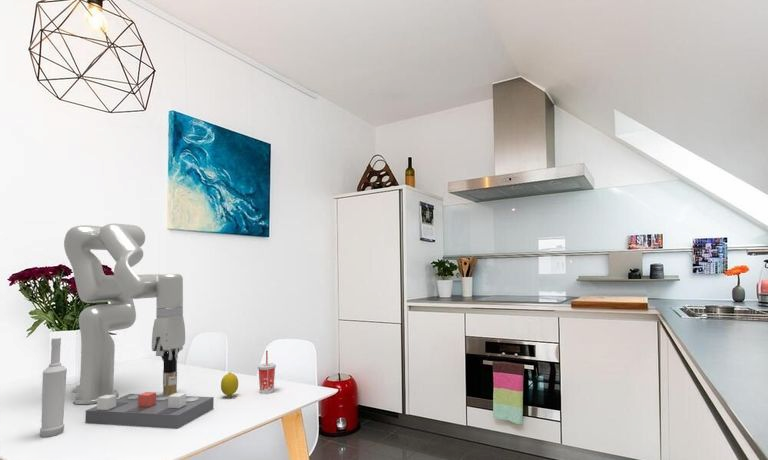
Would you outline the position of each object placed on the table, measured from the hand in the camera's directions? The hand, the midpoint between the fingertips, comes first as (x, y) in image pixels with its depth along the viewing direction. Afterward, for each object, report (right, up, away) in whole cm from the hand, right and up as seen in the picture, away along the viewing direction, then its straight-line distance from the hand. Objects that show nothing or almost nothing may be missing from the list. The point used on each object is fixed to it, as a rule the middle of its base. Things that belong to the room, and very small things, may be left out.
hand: (169, 372), depth 131 cm
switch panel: (-2, -10, -7) cm, 13 cm away
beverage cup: (+26, -12, +15) cm, 32 cm away
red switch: (-2, -7, -9) cm, 11 cm away
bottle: (-22, -10, -19) cm, 31 cm away
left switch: (-13, -7, -11) cm, 18 cm away
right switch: (+8, -6, -11) cm, 14 cm away
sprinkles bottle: (-7, -13, +14) cm, 21 cm away
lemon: (+15, -12, +10) cm, 22 cm away
